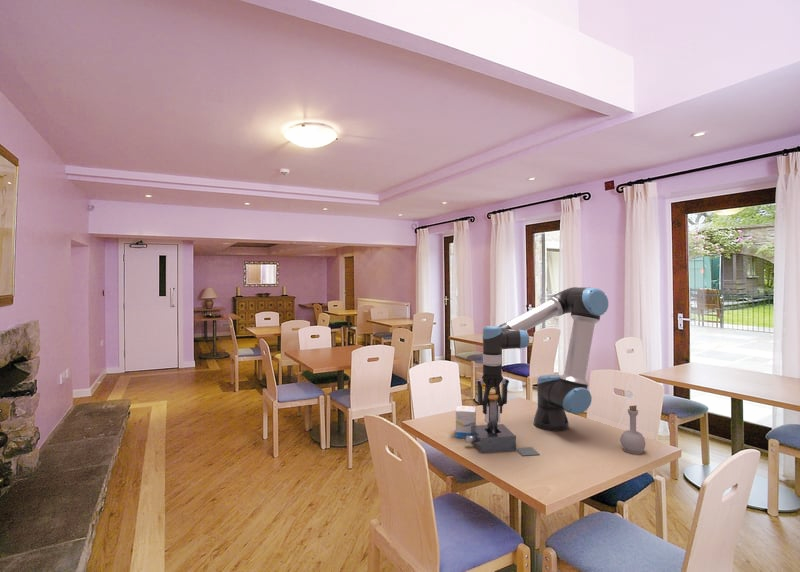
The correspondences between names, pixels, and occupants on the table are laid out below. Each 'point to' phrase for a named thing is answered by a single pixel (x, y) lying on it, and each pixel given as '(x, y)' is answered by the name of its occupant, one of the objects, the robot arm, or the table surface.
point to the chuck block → (492, 439)
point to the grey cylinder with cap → (493, 412)
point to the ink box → (465, 420)
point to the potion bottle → (632, 435)
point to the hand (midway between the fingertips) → (492, 421)
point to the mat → (527, 451)
